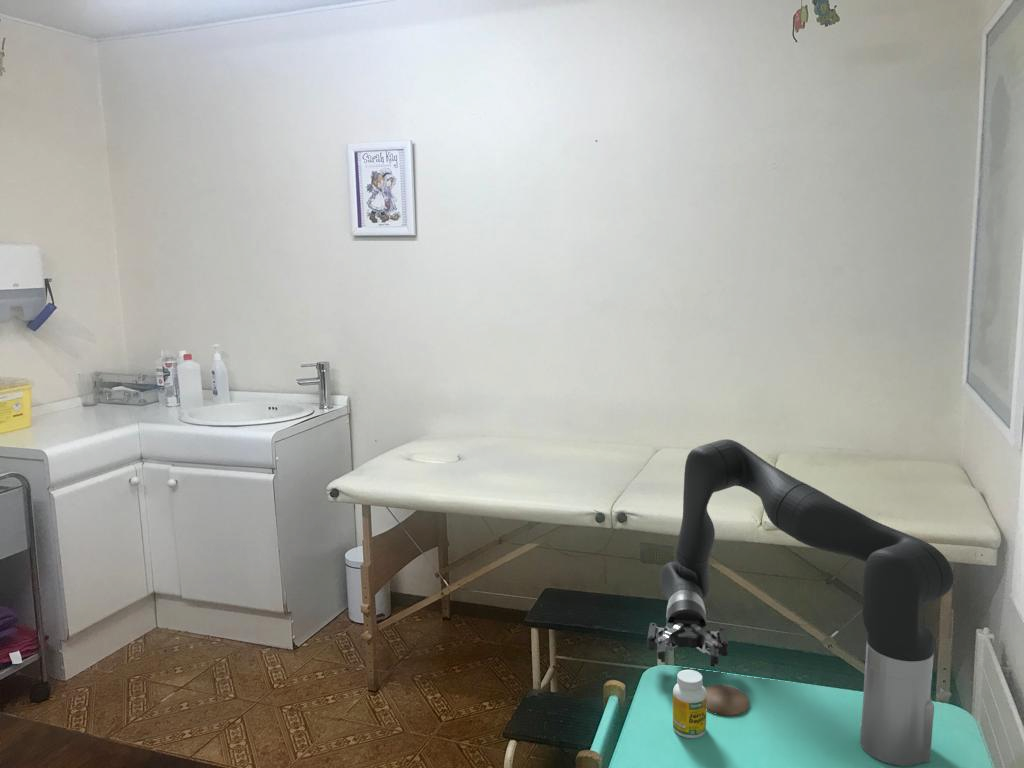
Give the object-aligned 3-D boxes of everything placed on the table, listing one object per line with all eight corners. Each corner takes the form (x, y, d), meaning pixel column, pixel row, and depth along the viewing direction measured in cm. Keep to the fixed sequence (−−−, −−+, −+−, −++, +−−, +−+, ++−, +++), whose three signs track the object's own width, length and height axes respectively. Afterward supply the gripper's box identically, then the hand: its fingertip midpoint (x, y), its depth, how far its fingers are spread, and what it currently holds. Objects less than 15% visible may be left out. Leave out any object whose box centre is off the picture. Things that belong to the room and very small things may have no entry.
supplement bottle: (688, 716, 136) (689, 663, 134) (713, 731, 132) (714, 677, 130) (665, 727, 133) (666, 673, 131) (689, 743, 129) (690, 688, 127)
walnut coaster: (746, 690, 143) (746, 686, 143) (751, 718, 135) (751, 714, 135) (697, 686, 145) (697, 682, 145) (699, 713, 137) (699, 710, 137)
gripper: (649, 596, 158) (647, 637, 143) (724, 601, 156) (730, 643, 140) (648, 631, 160) (646, 676, 144) (723, 637, 157) (729, 682, 141)
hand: (688, 659), depth 142 cm, fingers open, 8 cm apart
